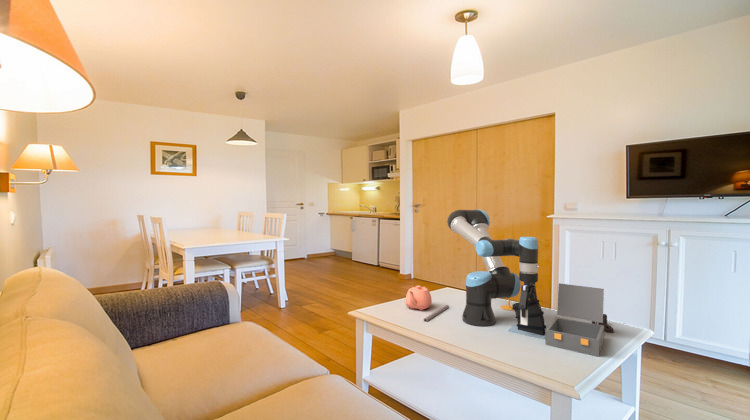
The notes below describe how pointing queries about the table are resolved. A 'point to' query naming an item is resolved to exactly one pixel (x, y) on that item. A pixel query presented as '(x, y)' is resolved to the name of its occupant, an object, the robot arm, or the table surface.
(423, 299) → the pink rounded piece
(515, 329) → the mat
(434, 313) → the metal rod
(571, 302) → the lid
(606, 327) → the bracket
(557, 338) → the case
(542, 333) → the magazine
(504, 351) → the table surface
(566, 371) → the table surface
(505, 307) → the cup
